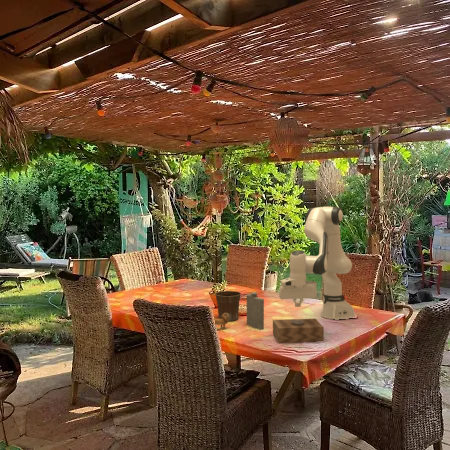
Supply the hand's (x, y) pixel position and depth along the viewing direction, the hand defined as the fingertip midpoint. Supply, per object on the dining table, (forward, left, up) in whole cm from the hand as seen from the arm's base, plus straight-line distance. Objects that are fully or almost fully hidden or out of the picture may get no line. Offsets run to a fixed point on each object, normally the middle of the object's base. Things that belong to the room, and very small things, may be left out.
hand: (297, 306), depth 250 cm
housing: (0, +1, -17) cm, 17 cm away
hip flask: (+20, -23, -17) cm, 36 cm away
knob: (0, +1, -15) cm, 15 cm away
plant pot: (+34, -40, -17) cm, 56 cm away
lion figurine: (+42, -19, -17) cm, 49 cm away
